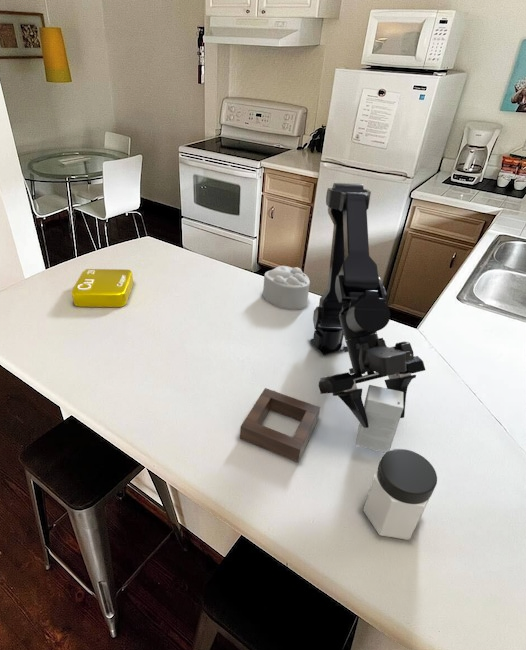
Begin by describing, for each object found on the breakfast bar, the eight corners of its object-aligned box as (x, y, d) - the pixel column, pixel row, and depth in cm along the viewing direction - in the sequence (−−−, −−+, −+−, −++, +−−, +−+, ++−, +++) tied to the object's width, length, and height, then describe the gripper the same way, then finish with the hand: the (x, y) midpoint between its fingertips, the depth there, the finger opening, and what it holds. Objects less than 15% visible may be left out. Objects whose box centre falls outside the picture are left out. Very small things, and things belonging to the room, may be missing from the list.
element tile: (125, 307, 124) (123, 293, 122) (72, 307, 124) (68, 292, 122) (134, 281, 137) (133, 267, 134) (86, 280, 137) (83, 267, 134)
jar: (378, 483, 78) (394, 438, 71) (425, 511, 74) (446, 465, 67) (355, 520, 72) (369, 474, 66) (404, 552, 68) (424, 506, 61)
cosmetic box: (389, 437, 84) (404, 391, 77) (388, 454, 81) (404, 408, 74) (356, 428, 86) (368, 383, 79) (354, 445, 82) (367, 399, 75)
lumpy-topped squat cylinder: (282, 284, 136) (284, 258, 131) (315, 301, 128) (319, 274, 123) (258, 296, 130) (259, 270, 125) (292, 314, 122) (295, 287, 117)
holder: (264, 399, 95) (265, 387, 93) (318, 419, 90) (320, 407, 88) (239, 438, 86) (240, 426, 84) (298, 462, 82) (300, 450, 80)
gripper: (336, 340, 70) (362, 438, 68) (433, 319, 75) (460, 410, 73) (308, 349, 81) (329, 434, 79) (394, 330, 86) (416, 410, 84)
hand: (384, 422), depth 78 cm, fingers closed on cosmetic box, 7 cm apart
